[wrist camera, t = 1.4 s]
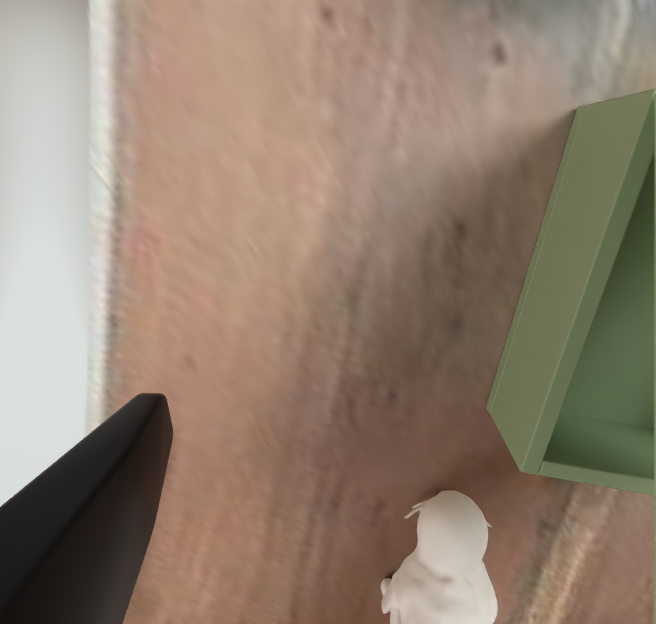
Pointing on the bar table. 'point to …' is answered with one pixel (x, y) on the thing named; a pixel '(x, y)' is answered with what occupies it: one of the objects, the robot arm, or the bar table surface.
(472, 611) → the white animal figurine
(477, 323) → the bar table surface
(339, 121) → the bar table surface
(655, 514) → the lid
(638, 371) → the box
